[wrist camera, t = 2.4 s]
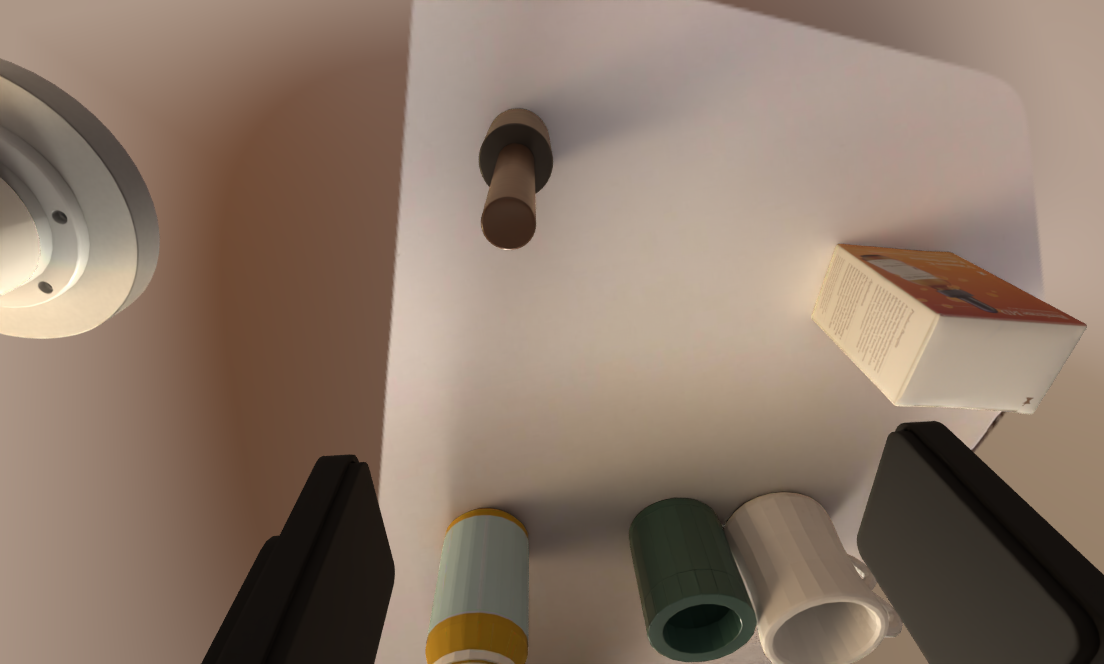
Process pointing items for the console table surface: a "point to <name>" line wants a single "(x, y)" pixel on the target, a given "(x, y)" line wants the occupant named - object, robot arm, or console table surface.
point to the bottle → (481, 592)
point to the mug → (806, 583)
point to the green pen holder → (689, 582)
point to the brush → (514, 176)
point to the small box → (942, 329)
